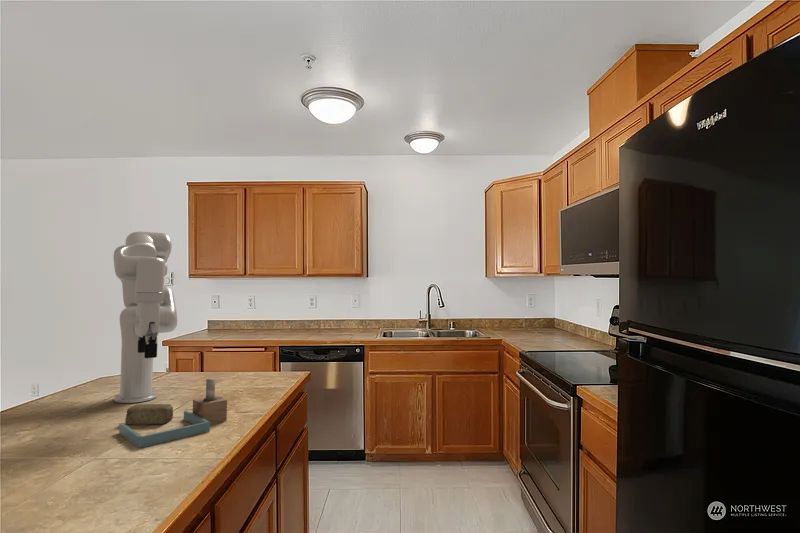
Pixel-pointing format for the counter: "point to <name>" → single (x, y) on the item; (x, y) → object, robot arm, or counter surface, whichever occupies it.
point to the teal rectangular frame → (155, 438)
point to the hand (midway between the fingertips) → (147, 354)
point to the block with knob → (211, 405)
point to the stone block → (149, 414)
